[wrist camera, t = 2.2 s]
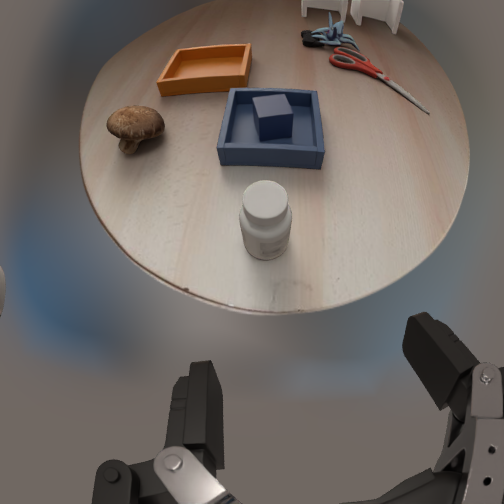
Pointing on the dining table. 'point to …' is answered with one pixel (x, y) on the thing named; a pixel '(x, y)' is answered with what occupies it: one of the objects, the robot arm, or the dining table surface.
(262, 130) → the blue block
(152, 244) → the dining table surface
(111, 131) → the mushroom
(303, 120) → the blue tray
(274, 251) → the pill bottle
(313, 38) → the figurine
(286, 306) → the dining table surface
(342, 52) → the scissors
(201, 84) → the amber tray
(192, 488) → the robot arm
